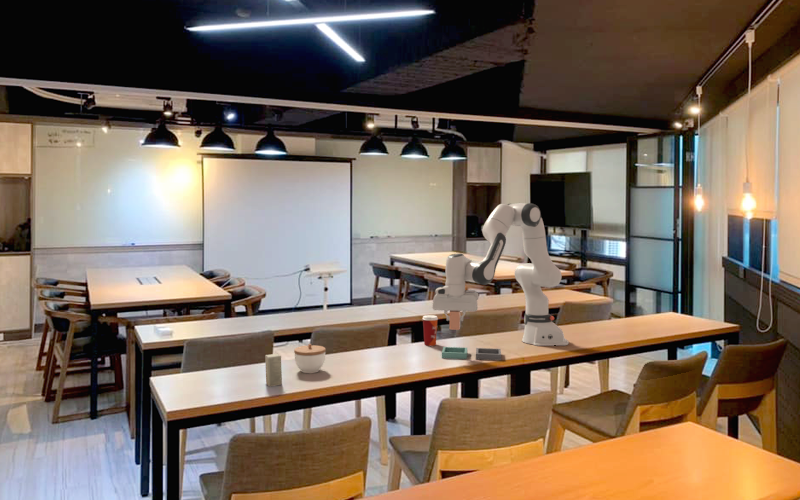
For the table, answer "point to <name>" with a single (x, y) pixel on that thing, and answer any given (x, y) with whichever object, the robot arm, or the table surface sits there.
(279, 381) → the box
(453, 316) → the block
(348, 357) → the table surface
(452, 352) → the bin
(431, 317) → the paper cup
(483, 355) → the bin
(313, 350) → the lidded bowl
